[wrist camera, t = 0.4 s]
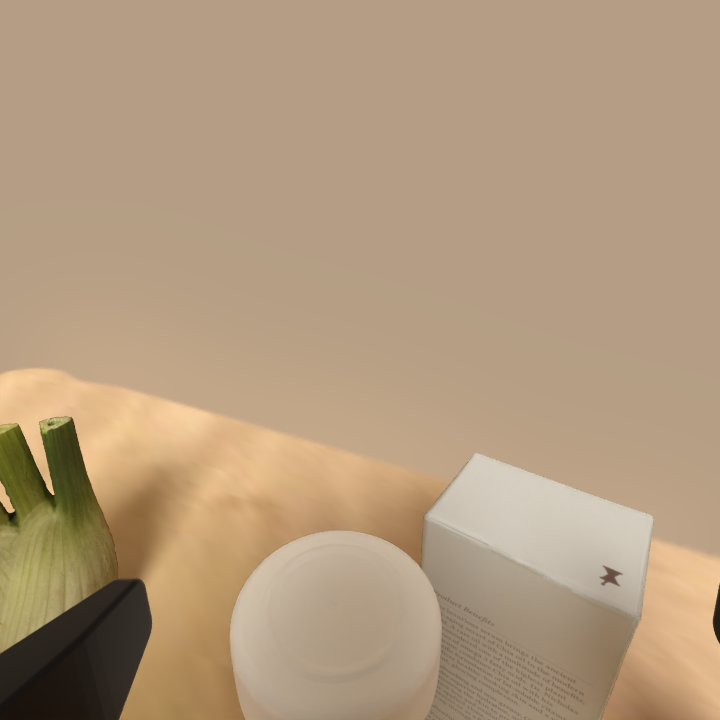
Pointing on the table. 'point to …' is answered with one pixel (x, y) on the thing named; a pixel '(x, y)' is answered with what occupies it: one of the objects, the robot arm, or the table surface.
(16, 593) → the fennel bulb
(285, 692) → the sprinkles bottle
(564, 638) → the skincare box
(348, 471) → the table surface
